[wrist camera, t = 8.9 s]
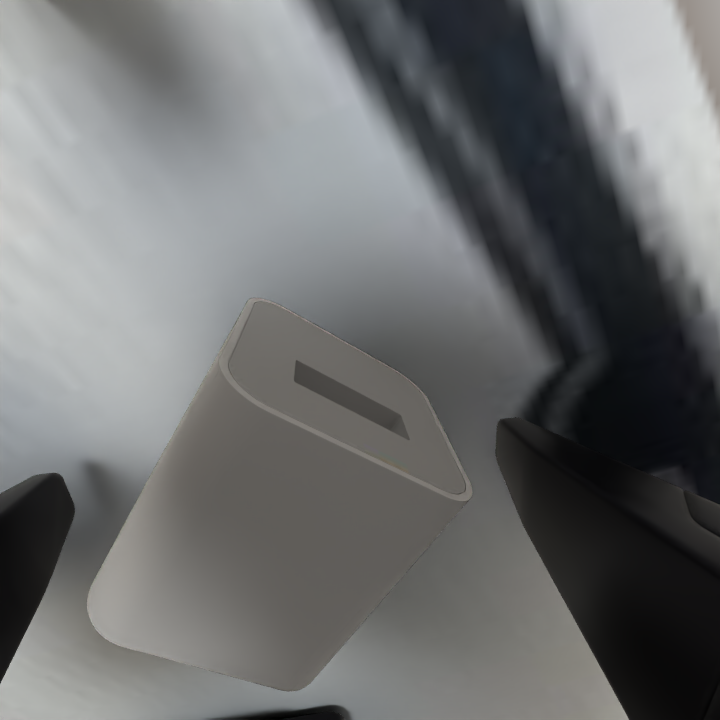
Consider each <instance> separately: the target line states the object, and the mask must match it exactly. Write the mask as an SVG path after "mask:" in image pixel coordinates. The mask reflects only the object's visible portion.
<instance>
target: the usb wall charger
mask: <svg viewBox="0 0 720 720" xmlns="http://www.w3.org/2000/svg"><path fill="white" fill-rule="evenodd" d="M472 494H473V490H472V486H471V483H470V481H469V479H468V477H467V475H466V473H465V471H464V469H463V467H462V465H461V463H460V461H459V459H458V457H457V455H456V453H455V451H454V449H453V447H452V445H451V443H450V441H449V439H448V437H447V435H446V434H445V432H444V430H443V428H442V426H441V424H440V422H439V420H438V418H437V416H436V414H435V412H434V410H433V408H432V406H431V404H430V402H429V400H428V398H427V397H426V395H425V394H424V393H423V392H422V391H421V390H420V389H419V388H418V387H417V386H416V385H415V384H414V383H413V382H412V381H410V380H409V379H408V378H407V377H405V376H404V375H403V374H401V373H400V372H398V371H396V370H395V369H393V368H391V367H390V366H388V365H386V364H384V363H382V362H381V361H379V360H377V359H375V358H374V357H372V356H370V355H368V354H366V353H365V352H363V351H361V350H359V349H357V348H356V347H354V346H352V345H350V344H349V343H347V342H345V341H343V340H341V339H340V338H338V337H336V336H334V335H333V334H331V333H329V332H327V331H325V330H324V329H322V328H320V327H318V326H317V325H315V324H313V323H311V322H309V321H308V320H306V319H304V318H302V317H301V316H299V315H297V314H295V313H293V312H292V311H290V310H288V309H286V308H284V307H282V306H280V305H278V304H276V303H274V302H271V301H268V300H265V299H261V298H250V299H249V300H248V301H247V303H246V305H245V307H244V308H243V310H242V312H241V314H240V316H239V317H238V319H237V321H236V323H235V325H234V326H233V328H232V330H231V332H230V333H229V335H228V337H227V339H226V341H225V342H224V344H223V346H222V348H221V350H220V351H219V353H218V355H217V357H216V359H215V360H214V362H213V364H212V366H211V367H210V369H209V371H208V373H207V375H206V376H205V378H204V380H203V382H202V384H201V385H200V387H199V389H198V391H197V393H196V394H195V396H194V398H193V400H192V401H191V403H190V405H189V407H188V409H187V410H186V412H185V414H184V416H183V418H182V419H181V421H180V423H179V425H178V427H177V428H176V430H175V432H174V434H173V435H172V437H171V439H170V441H169V443H168V444H167V446H166V448H165V450H164V452H163V453H162V455H161V457H160V459H159V461H158V462H157V464H156V466H155V468H154V470H153V471H152V473H151V475H150V477H149V478H148V480H147V482H146V484H145V486H144V488H143V490H142V492H141V493H140V495H139V497H138V499H137V501H136V503H135V505H134V506H133V508H132V510H131V512H130V514H129V516H128V518H127V520H126V521H125V523H124V525H123V527H122V529H121V531H120V533H119V534H118V536H117V538H116V540H115V542H114V544H113V546H112V548H111V549H110V551H109V553H108V555H107V557H106V559H105V561H104V562H103V564H102V566H101V568H100V570H99V572H98V574H97V576H96V577H95V579H94V581H93V583H92V585H91V587H90V590H89V593H88V598H87V610H88V615H89V618H90V620H91V623H92V624H93V626H94V628H95V629H96V630H97V632H98V633H99V634H100V635H101V636H103V637H104V638H105V639H106V640H108V641H110V642H111V643H113V644H116V645H118V646H121V647H125V648H129V649H132V650H136V651H140V652H143V653H147V654H151V655H154V656H158V657H162V658H165V659H169V660H172V661H176V662H180V663H183V664H187V665H191V666H194V667H198V668H202V669H205V670H209V671H213V672H216V673H220V674H224V675H227V676H231V677H235V678H238V679H242V680H245V681H249V682H253V683H256V684H260V685H264V686H267V687H271V688H275V689H278V690H282V691H297V690H300V689H302V688H304V687H306V686H307V685H309V684H310V683H311V682H312V681H313V679H314V678H315V677H316V676H317V675H318V674H319V673H320V671H321V670H322V669H323V668H324V667H325V666H326V664H327V663H328V662H329V661H330V660H331V659H332V658H333V656H334V655H335V654H336V653H337V652H338V651H339V650H340V648H341V647H342V646H343V645H344V644H345V643H346V641H347V640H348V639H349V638H350V637H351V636H352V635H353V633H354V632H355V631H356V630H357V629H358V628H359V626H360V625H361V624H362V623H363V622H364V621H365V620H366V618H367V617H368V616H369V615H370V614H371V613H372V611H373V610H374V609H375V608H376V607H377V606H378V605H379V603H380V602H381V601H382V600H383V599H384V598H385V596H386V595H387V594H388V593H389V592H390V591H391V590H392V588H393V587H394V586H395V585H396V584H397V583H398V581H399V580H400V579H401V578H402V577H403V576H404V575H405V573H406V572H407V571H408V570H409V569H410V568H411V566H412V565H413V564H414V563H415V562H416V561H417V560H418V558H419V557H420V556H421V555H422V554H423V553H424V551H425V550H426V549H427V548H428V547H429V546H430V545H431V543H432V542H433V541H434V540H435V539H436V538H437V536H438V535H439V534H440V533H441V532H442V531H443V530H444V528H445V527H446V526H447V525H448V524H449V523H450V521H451V520H452V519H453V518H454V517H455V516H456V515H457V513H458V512H459V511H460V510H461V509H462V508H463V506H464V505H465V504H466V503H467V502H468V501H469V500H470V498H471V497H472Z"/></svg>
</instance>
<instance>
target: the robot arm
mask: <svg viewBox="0 0 720 720" xmlns="http://www.w3.org/2000/svg"><path fill="white" fill-rule="evenodd" d="M495 454H496V460H497V463H498V466H499V468H500V471H501V473H502V476H503V478H504V480H505V483H506V485H507V488H508V490H509V493H510V495H511V498H512V500H513V503H514V505H515V507H516V510H517V512H518V515H519V517H520V519H521V522H522V524H523V526H524V528H525V530H526V532H527V534H528V536H529V537H530V539H531V541H532V543H533V545H534V546H535V548H536V550H537V552H538V554H539V556H540V557H541V559H542V561H543V563H544V565H545V567H546V568H547V570H548V572H549V574H550V576H551V578H552V579H553V581H554V583H555V585H556V587H557V588H558V590H559V592H560V594H561V596H562V598H563V599H564V601H565V603H566V605H567V607H568V609H569V610H570V612H571V614H572V616H573V618H574V620H575V621H576V623H577V625H578V627H579V629H580V630H581V632H582V634H583V636H584V638H585V640H586V641H587V643H588V645H589V647H590V649H591V651H592V652H593V654H594V656H595V658H596V660H597V661H598V663H599V665H600V667H601V669H602V671H603V672H604V674H605V676H606V678H607V680H608V682H609V683H610V685H611V687H612V689H613V691H614V693H615V694H616V696H617V698H618V700H619V702H620V703H621V705H622V707H623V709H624V711H625V713H626V714H627V716H628V718H629V720H720V505H719V504H717V503H714V502H712V501H710V500H707V499H705V498H703V497H700V496H698V495H696V494H694V493H691V492H689V491H686V490H685V491H683V490H682V489H681V488H680V487H677V486H675V485H673V484H670V483H668V482H666V481H664V480H661V479H659V478H657V477H654V476H652V475H650V474H648V473H645V472H643V471H641V470H638V469H636V468H634V467H631V466H629V465H627V464H625V463H622V462H620V461H618V460H615V459H613V458H611V457H608V456H606V455H604V454H602V453H599V452H597V451H595V450H592V449H590V448H588V447H586V446H583V445H581V444H579V443H576V442H574V441H572V440H569V439H567V438H565V437H563V436H560V435H558V434H556V433H553V432H551V431H549V430H546V429H544V428H542V427H540V426H537V425H535V424H533V423H530V422H528V421H526V420H524V419H521V418H519V417H513V418H505V419H500V420H499V421H498V424H497V432H496V449H495ZM74 514H75V506H74V502H73V500H72V498H71V496H70V493H69V491H68V489H67V486H66V484H65V482H64V479H63V478H62V476H61V475H60V474H58V473H47V474H39V475H35V476H32V477H30V478H28V479H27V480H25V481H23V482H21V483H19V484H17V485H16V486H14V487H12V488H10V489H8V490H6V491H5V492H3V493H1V494H0V683H1V681H2V679H3V677H4V675H5V673H6V671H7V669H8V667H9V665H10V663H11V661H12V659H13V657H14V655H15V653H16V651H17V649H18V647H19V645H20V642H21V640H22V638H23V636H24V634H25V632H26V630H27V628H28V626H29V624H30V622H31V620H32V618H33V616H34V614H35V612H36V610H37V608H38V606H39V604H40V602H41V600H42V598H43V595H44V593H45V591H46V589H47V586H48V584H49V582H50V579H51V577H52V574H53V571H54V569H55V566H56V563H57V561H58V558H59V555H60V553H61V550H62V547H63V545H64V542H65V539H66V537H67V534H68V532H69V529H70V526H71V524H72V521H73V518H74ZM280 720H344V717H343V716H342V715H341V714H339V713H336V712H325V713H318V714H312V715H306V716H299V717H293V718H287V719H280Z"/></svg>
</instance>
